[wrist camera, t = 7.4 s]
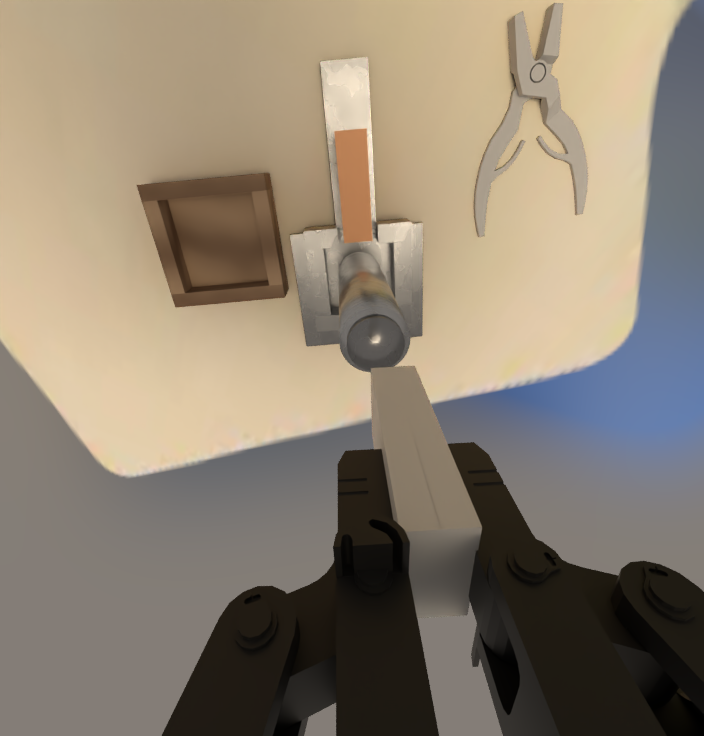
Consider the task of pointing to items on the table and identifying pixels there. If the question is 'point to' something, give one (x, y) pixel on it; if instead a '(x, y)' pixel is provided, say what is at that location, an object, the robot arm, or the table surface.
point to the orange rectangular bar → (354, 184)
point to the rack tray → (217, 238)
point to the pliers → (542, 85)
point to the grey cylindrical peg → (369, 316)
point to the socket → (326, 243)
